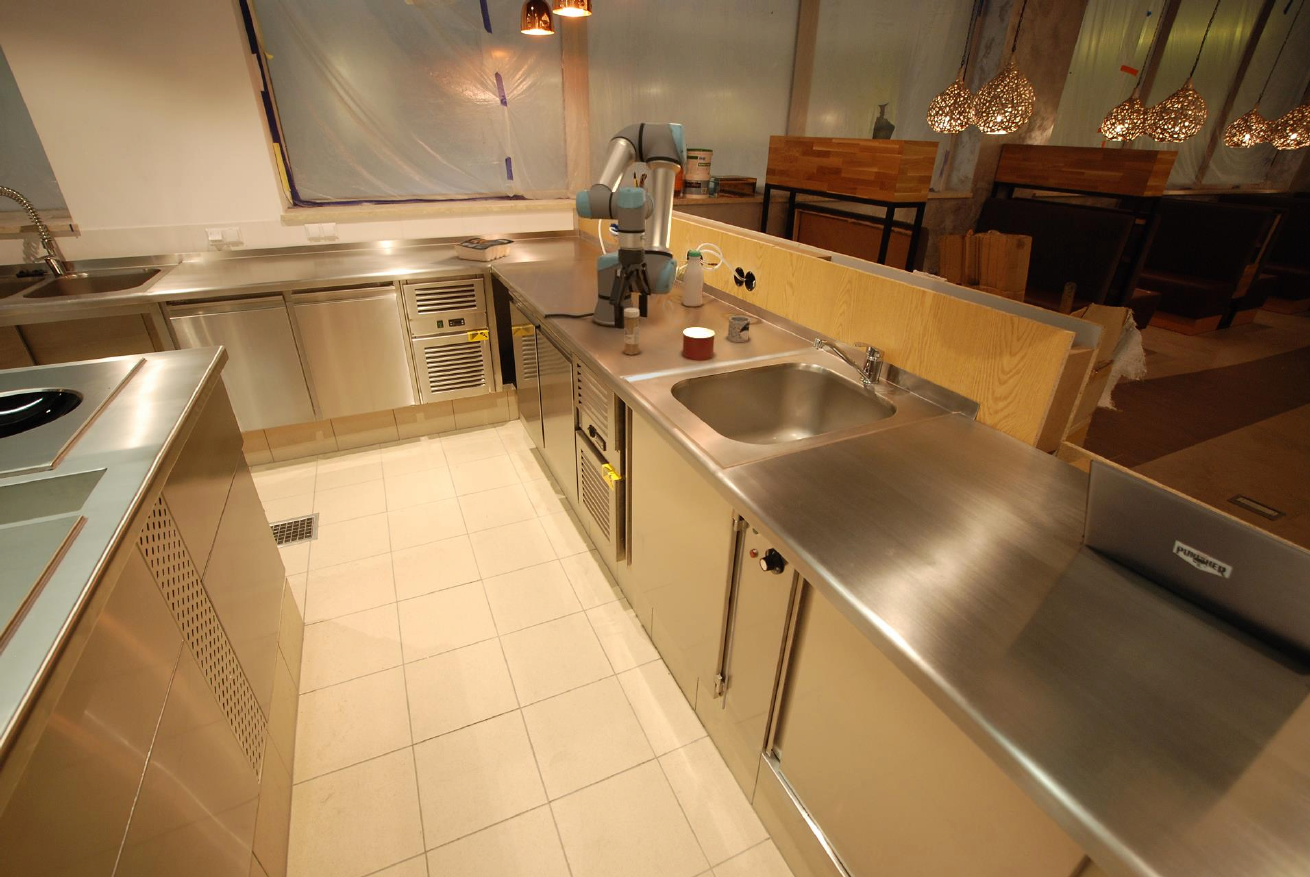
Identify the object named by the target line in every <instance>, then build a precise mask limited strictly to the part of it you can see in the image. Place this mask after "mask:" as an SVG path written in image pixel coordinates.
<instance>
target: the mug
mask: <svg viewBox="0 0 1310 877" xmlns="http://www.w3.org/2000/svg"><path fill="white" fill-rule="evenodd" d="M750 324H751V319H750V318H749V317H746V316H743V315H735V316H730V317H729V318H728V330H727V340H728V341H729V342H734V343H745V342H748V341H749V334H750Z"/></svg>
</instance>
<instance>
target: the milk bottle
mask: <svg viewBox="0 0 1310 877" xmlns="http://www.w3.org/2000/svg"><path fill="white" fill-rule="evenodd" d="M701 258H702V252H701V251H700V250H689V251H688V261H687V264H686V266H685V268H684V272H683V282H682V283H683V284H682V305H683V306H687V307H700V306H702V305H703V301H704V300H703V299H704V298H703V297H704V280H705V278H704V277H705V276H704V269H703V265H702V263H701Z"/></svg>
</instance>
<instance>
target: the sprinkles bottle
mask: <svg viewBox="0 0 1310 877" xmlns="http://www.w3.org/2000/svg"><path fill="white" fill-rule="evenodd" d="M624 317H625V326H624V334H623V335H624V338H623V339H624V350H623V351H624V354H626V355H630V356H632V355H633V356H634V355H638V354H639V353H640V350H639V346H640V317H639V308H637V307H634V308H626V309H624Z"/></svg>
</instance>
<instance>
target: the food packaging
mask: <svg viewBox="0 0 1310 877" xmlns="http://www.w3.org/2000/svg"><path fill="white" fill-rule="evenodd" d="M515 242H516V241H515V240H512V239H507V238H497V239H484V238H480V237H473V238H470V239H467V240H465V241H463V242H460V243H457V244H448V245H447V246H448V247H453V246H454V249H455V252H456V254H457V257H458V258H459V259H461V260H471V261H479V262H480V261H481V262H490V261H493V260H495V259H497V260H498V259H500V258H503V257H507V256H509V253H510V246H511V245H510V244H512V243H515Z"/></svg>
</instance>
